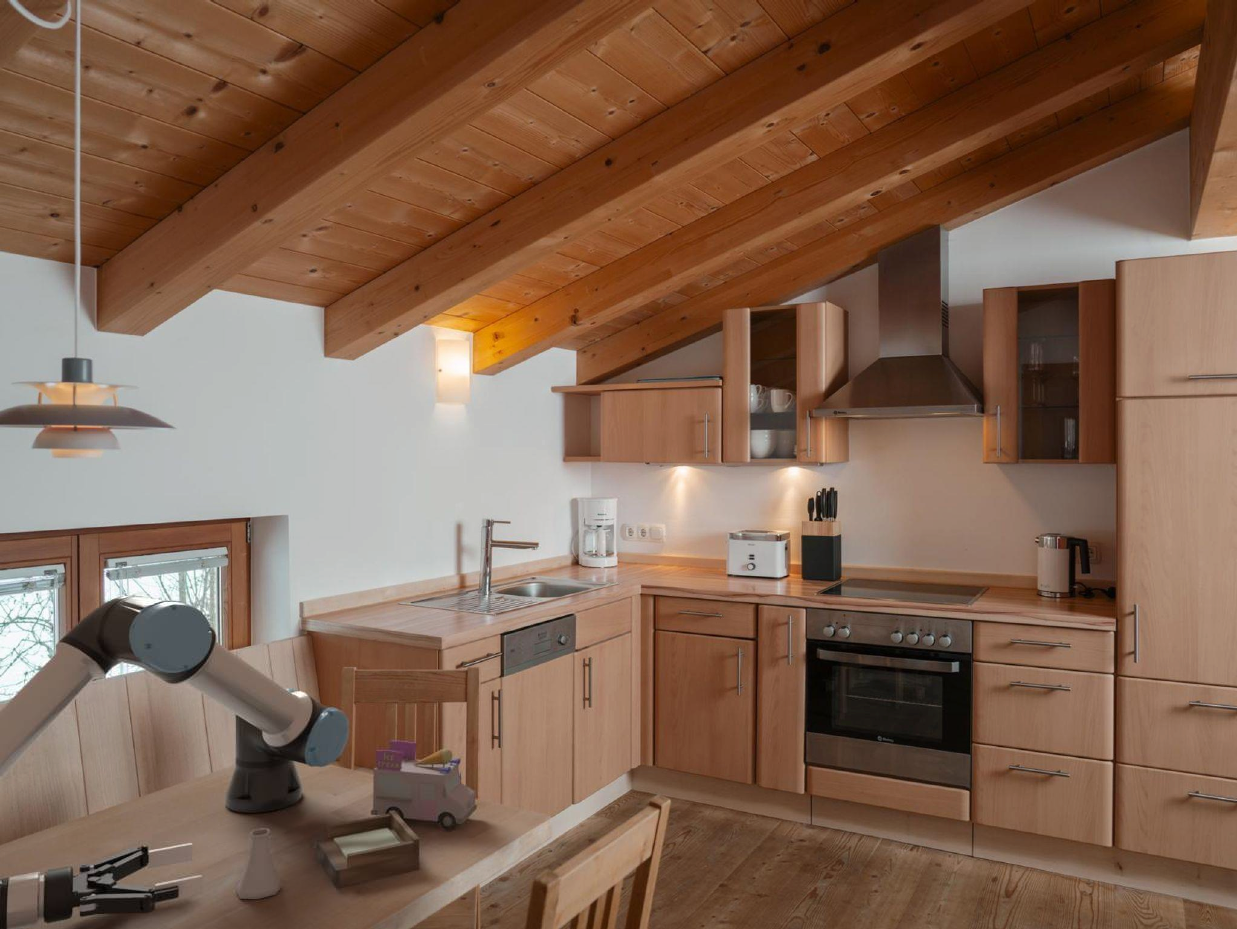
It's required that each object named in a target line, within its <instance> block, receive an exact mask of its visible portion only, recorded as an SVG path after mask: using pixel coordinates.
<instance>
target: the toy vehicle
mask: <svg viewBox="0 0 1237 929" xmlns="http://www.w3.org/2000/svg"><path fill="white" fill-rule="evenodd" d="M417 744H418V743H417V742H410V741H406V740H393V739H392V740H391V739H390V740H389V747H390V750H388V749H383V750H381V749H380V750H379V749H376V750H375V761H376V764H375V765H376V767H374V768H373V786H372V788H373V792H372V793H373V794H372V795H373V796H372V799H373V800H372V809H371V810H370V815H372V816H380V815H385V814H389V811H393V810H394V811H395V812H396V813H397V814H398V815H399V816H400V818H401V819H402V820H403V821H404V820H405V819H410V820H419V821H420V820H421V821H429V822H431V821H432V822H438V824H439V827H440V828H441V829H442V830H444V831H451V830H453V829H455V828H456V826H457V825H458V824H459V825H463V824H464V823H465V822H466V821H467V819H468V818H470V816H472V814H473V813H475V812H476V810H477V808H478V805H477V804H476V791H475V790H473V789H472V788H470V787H469V786H467V785H465V784H464V783H462V773H460V771H459V770H460V766H459V765H460V763H461V758H456V759H453V753H452V750H451V749H448V748H441V749H440V750H438V751H436V752H434V753H432V754H430V755H428V756H426V757H425V758H423V759H416V751H417Z"/></svg>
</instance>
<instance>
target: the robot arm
mask: <svg viewBox="0 0 1237 929" xmlns="http://www.w3.org/2000/svg"><path fill="white" fill-rule="evenodd" d="M217 641H218V637H217V632H216V630H215V629H214V628H213V627H211V624H210V621H209V619H208V618H207V617H206V615H205V614H204V612H202V611H201V610H200V609H199V608H197V607H195V606H193V605H190V604H189V603H186V602H184V601H179V600H163V599H157V598H151V597H150V598H149V597H145V596H139V595H122V596H119V597H115V598H113V599H110V600H108V601H106V602H104V603H102V604H101V605H99V606H97V608H95V609H94V610H92V611H91V612H89V613H88V614H87V615H86V616H84V617H83V618H82V619H81V620H79V621H78V623H77V624H75V625H74V626H73V627H72V628H71V629H70V630H69V631H68V632H67V633H66V634H65V635H64V636H63V637H62V638H61V639H60V640H59V641H58V642H57V643H56V644H55V654H54V655H53V656H52V657H51V658H50V659H49V660H48V661H47V662H46V663H45V664H44V665H43V667H41V668H40V669H39V670H38V671H37V672H36V673H35V675H33V676H32V678H31V679H29V681H28V682H27V683H26V684H25V685H24V686H23V687H21V689H20V690H19V691H18V692H17V693H16V694H14V696H13V697H12V698H10V700H9V701H8V702H7V703H6V704H5V706H3V707H2V709H0V780H1V779H3V777H4V776H6V774H7V773H8V772H9V771H10V770H11V769H12V768H13V766H14V765H16V764H17V762H18V761H20V759H21V758H22V757H23V756H24V755H25V753H27V752H28V751H29V749H30V748H31V747H32V746H33V745H34V744H35V743H36V742H37V741H38V740H39V738H41V736H43V734H44V733H45V732H46V731H47V730H48V729H49V727H51V726H52V725H53V724H54V722H56V720H58V718H60V716H61V715H62V714H63V713H64V712H65V710H66V709H67V708H68V707H69V706H70V705H71V704H72V703H73V702H74V701H75V700H76V699H77V698H78V697H79V695H80V694H81V693H82V692H83V691H84V690H85V689H86V688H87V687H88V686H89V685H90V684H91V683H92V682H93V681H94V680H99V679H103V678H104V677H105V676H106V675H107V674H108V673H109V672H110V671H111V670H112V669H113V668H114V667H116V666H118V665H120V664H122V663H123V664H129V665H133V666H138V667H140V668H142V669H144V670H146V671H147V672H149V673H150V674H153V675H154V676H155V677H157V678H159V679H160V680H162V681H164V682H165V683H166V684H170V685H179V684H183V683H185V684H186V685H188V686H190V687H191V688H193V689H195V690H196V691H198V692H199V693H201V694H202V695H203V696H206V697H208V698H209V699H211V700H212V701H213V702H215V703H217V704H218V705H220V706H222V707H224V708H225V709H227V710H228V711H230V712H232V713H234V717H235V760H234V761H235V764H234V769H233V773H232V775H231V778H230V780H229V784H228V786H227V790H226V793H225V806H226V808H228V809H229V810H232V811H234V812H238V813H244V814H245V813H247V814H248V813H249V814H258V813H269V812H274V811H278V810H282V809H285V808H288V807H291V806H293V805H295V804H296V803H297V802H299V801H300V800H301V799H302V797H303V794H302V793H303V786H302V782H301V779H300V778H301V777H300V775H299V773H298V770H297V767H296V762H297V763H300V764H302V765H306V766H309V767H311V768H312V767H313V768H314V767H317V768H322V767H323V768H324V767H327V766H330V765H331V763H334V762H335V761H336V760H337V759H338V758H339V757H340V756H341V754H342V752H343V751H344V749H345V748H346V744H347V742H348V739H349V733H350V732H349V726H350V724H349V719H348V717H347V715H346V713H345V712H344V711H343V710H340V709H338V708H336V707H334V706H331V707H329V706H327V705H324V704H322V703H321V702H319V701H318V700H316V699H314V698H313V697H312V696H310V695H309V694H308V693H306V692H305V691H304V692H303V691H299V690H298V691H295V690H294V689H293V688H290V687H289V688H288V687H286V688H285V687H283V686H281V685H280V684H279V683H277V682H276V681H274V680H272V679H271V678H270V677H269V676H267V675H265V674H264V673H262V672H261V671H260V670H259V669H257V668H255V667H254V666H252V665H251V664H249V663H248V662H246V660H243V659H242V658H241V657H239V656H238V655H236V654H235V653H234V652H232V651H230V650H229V649H228V648H226V647H224V645H222V644H220V643H219V642H217ZM191 861H193V843H192V842H188V843H184V844H183V843H182V844H178V845H173V846H167V847H161V848H157V849H152V850H149V844H148V845H147V844H144V845H141V846H136V847H133V848H131V849H129V850H125V851H123V852H120V853H116V854H114V855H111V856H108V857H105V858H102V859H99V860H97V861H94V862H93V861H92V862H88V863H85V864H81V865H80V866H79V874H77V875H74V867H72V866H71V865H69V866H63V867H57V868H52V869H48V870H47V871H45V873H44V874H41V872H40V871H35V872H29V873H25V874H23V873H22V874H18V875H13V876H9V877H8V876H7V877H4V878H0V929H27V928H33V927H34V926H39V924H40V921H43V923H46V924H51V923H56V922H61V921H66V920H69V919H71V918H72V916H73V909H75V908H79V916H80V917H81V918H82V917H88V916H95V915H121V914H122V915H125V914H128V915H131V914H149V913H151V912H154V911H155V910H156V904H160V903H164V902H170V901H175V900H180V899H184V898H189V897H193V896H197V895H201V894H202V893H203V876H202V874H199V875H192V876H187V877H183V878H177V879H173V880H169V881H163V882H159V883H155V884H154V887H152V886H142V885H141V886H139V885H132V884H120V883H118V882H119V881H121V880H123V879H124V878H126V877H128V876H130V875H132V874H134V873H137V872H138V871H140V870H142V869H143V868H146V867H148V869H149V870H150V869H154V868H160V867H164V866H168V865H169V866H170V865H174V864H175V865H176V864H179V863H185V862H191Z"/></svg>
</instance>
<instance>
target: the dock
mask: <svg viewBox="0 0 1237 929" xmlns="http://www.w3.org/2000/svg"><path fill="white" fill-rule="evenodd" d="M420 840H421V839H420V838H419V836H418V835H417V834H416V833H415V832H414V831H413V830H412V829H411V828H410V826H409V825H408V824H407V823H406V822H405V821H404V820H402V819H401V818H400V816H399V815H398V814H397V813H396V812H395V811H394V810H393V811H389V814H385V815H374V816H370V817H365V818H360V819H354V820H350V821H344V822H339V823H334V824H329V825H327V836H321V837H316V838H315V856H316V857H317V859H318V861H319V863H320V864H321V866H322V868H323V869H324V871H325V872H326V874H327V876H328V877H329V879H330V881H331V882H332V885H333V886H334V887H335V889H338V888H342V887H343V888H344V887H349V886H353V885H356V884H360V883H366V882H370V881H374V880H379V879H383V878H388V877H392V876H396V875H400V874H405V873H409V872H414V871H419V870H420Z"/></svg>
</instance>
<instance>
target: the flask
mask: <svg viewBox="0 0 1237 929" xmlns="http://www.w3.org/2000/svg"><path fill="white" fill-rule="evenodd" d="M270 834H271V830H270V828H265V827H264V828H263V827H259V828H256V829H253V830H251V831H250V832H249V837H251V845H250V850H249V855H248V858H247V862H246V864H245V867H244V869H243V872H242V875H241V877H240V880H239V883H238V886H237V888H236V892H235V893H236V894H237V896H238V898H239V899H241V900H242V899H245V900H247V899H248V900H259V899H263V898H267V897H271V896H275V895H276V894H277V893H278V892H279V891H280V889H281V888H283V885H282V883H281V879H280V877H279V874H278V873H277V869H276V867H275V864H274V861H273V859H272V858H273V857H272V855H271V852H270V846H269V836H270Z"/></svg>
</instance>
